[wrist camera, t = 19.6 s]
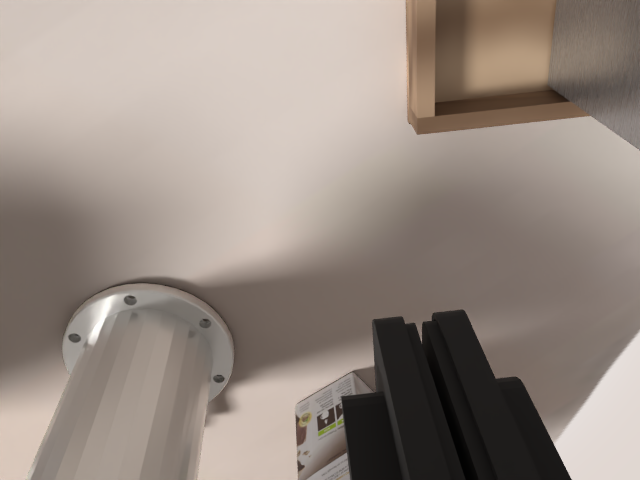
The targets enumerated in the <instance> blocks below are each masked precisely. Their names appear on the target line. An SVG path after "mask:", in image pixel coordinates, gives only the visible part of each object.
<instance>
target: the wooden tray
mask: <svg viewBox="0 0 640 480" xmlns="http://www.w3.org/2000/svg"><path fill="white" fill-rule="evenodd" d="M556 2H557V0H406V40H407V113H408V122H409V124H411V125H412V126H413V128H414V130H415V131H416V133H417V135H419V134H428V133H437V132H446V131H456V130H465V129H474V128H483V127H492V126H501V125H511V124H520V123H529V122H538V121H547V120H557V119H566V118H575V117H584V116H591V115H589V114H588V113H586V112H585V111H583V110H582V109H581V108H579V107H578V106H576V105H575V104H574V103H572V102H571V101H569V100H568V99H566V98H565V97H564V96H562V95H561V94H559V93H558V92H557V91H555V90H554V89H552V88H551V87H549V86H548V85H547V83H548V74H549V65H550V56H551V47H552V38H553V29H554V20H555V11H556Z"/></svg>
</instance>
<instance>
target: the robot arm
mask: <svg viewBox="0 0 640 480" xmlns="http://www.w3.org/2000/svg"><path fill="white" fill-rule="evenodd" d="M372 325H373V344H374V362H375V380H376V392H374V393H365V394H357V395H348V396H341V402H342V412H343V422H344V432H345V441H346V450H347V458H348V466H349V475H350V480H571V478H570V476H569V474H568V472H567V470H566V468H565V466H564V464H563V462H562V460H561V458H560V456H559V454H558V452H557V450H556V448H555V446H554V444H553V442H552V440H551V438H550V436H549V434H548V432H547V430H546V428H545V426H544V424H543V422H542V420H541V418H540V416H539V414H538V412H537V410H536V408H535V406H534V404H533V402H532V400H531V398H530V396H529V394H528V392H527V390H526V388H525V386H524V385H523V383H522V382H521V380H520V379H519V378H518V377H508V378H499V379H495V376H494V374H493V372H492V370H491V367H490V365H489V363H488V361H487V359H486V356H485V354H484V352H483V350H482V347H481V345H480V343H479V341H478V339H477V336H476V334H475V332H474V330H473V328H472V325H471V323H470V321H469V319H468V316H467V314H466V313H465V311H464V310H455V311H446V312H437V313H433V315H432V321H427V322H423V324H422V343H421V340H420V337H419V334H418V331H417V327H416V325H415V323H409V324H405V322H404V319H403V317H402V316H401V317H392V318H383V319H374V320H373V322H372ZM62 354H63V360H64V364H65V366H66V368H67V371H68V373H69V375H70V378H69V380H68V382H67V385H66V387H65V389H64V392H63V394H62V396H61V398H60V401H59V403H58V405H57V408H56V410H55V412H54V415H53V417H52V419H51V422H50V424H49V426H48V429H47V431H46V433H45V436H44V438H43V440H42V443H41V445H40V447H39V449H38V452H37V454H36V456H35V459H34V461H33V463H32V466H31V468H30V470H29V473H28V475H27V477H26V480H197V477H198V470H199V462H200V455H201V448H202V440H203V433H204V426H205V418H206V411H207V404H208V403H209V402H210V401H211V400H213V399H214V398H215V397H216V396H217V395H218V394H219V393H220V392H221V391H222V390H223V388H224V387H225V386H226V384H227V383H228V380H229V378H230V376H231V373H232V369H233V363H234V344H233V340H232V336H231V334H230V331H229V329H228V327H227V325H226V324H225V322H224V321H223V320H222V318H221V317H220V316H219V315H218V313H217V312H216V311H214V310H213V309H212V308H211V307H210V306H209V305H208V304H206V303H205V302H203V301H202V300H200V299H198V298H197V297H195V296H193V295H191V294H189V293H187V292H184V291H182V290H179V289H176V288H172V287H168V286H164V285H159V284H147V283H139V284H126V285H121V286H117V287H113V288H109V289H107V290H105V291H102V292H100V293H98V294H96V295H94V296H93V297H91V298H90V299H88V300H87V301H85V302H84V303H83V304H82V305H81V306H80V307H79V308H78V309H77V310H76V312H75V313H74V314H73V316H72V318H71V320H70V322H69V324H68V325H67V328H66V330H65V332H64V335H63V342H62Z"/></svg>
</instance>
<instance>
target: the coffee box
mask: <svg viewBox="0 0 640 480" xmlns="http://www.w3.org/2000/svg"><path fill="white" fill-rule="evenodd" d="M365 393H374V392H373V391H372V390H371V389H370V388H369V387H368V386H367V385H366V384H365V383H364V382H363V381H362V380H361V379H360V378H359V377H358V376H357V375H356V374H355V373H353V372H352V373H349V374H348V375H346V376H344V377H342V378H341V379H339V380H337V381H336V382H334V383H332V384H331V385H329V386H327V387H325V388H324V389H322V390H320V391H318V392H317V393H315V394H313V395H312V396H310V397H308V398H306V399H305V400H303V401H301V402H300V403H298V404H297V405H296V407H295V414H296V438H297V464H298V480H350V475H349V466H348V458H347V450H346V441H345V432H344V422H343V412H342V402H341V396H348V395H357V394H365Z"/></svg>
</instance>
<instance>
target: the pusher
mask: <svg viewBox="0 0 640 480" xmlns="http://www.w3.org/2000/svg"><path fill="white" fill-rule="evenodd" d="M547 85H548V86H549V87H551V88H552V89H554V90H555V91H557V92H558V93H559V94H561V95H562V96H564V97H565V98H566V99H568V100H569V101H571V102H572V103H574V104H575V105H576V106H578V107H579V108H581V109H582V110H583V111H585V112H586V113H588V114H589V115H591V116H592V117H593V118H595V119H596V120H598V121H599V122H600V123H602V124H603V125H605V126H606V127H607V128H609V129H610V130H612V131H613V132H615V133H616V134H617V135H619V136H620V137H622V138H623V139H624V140H626V141H627V142H629V143H630V144H632V145H633V146H634V147H636V148H637V149H639V150H640V0H557V2H556V11H555V20H554V29H553V38H552V47H551V56H550V65H549V74H548V83H547Z"/></svg>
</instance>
